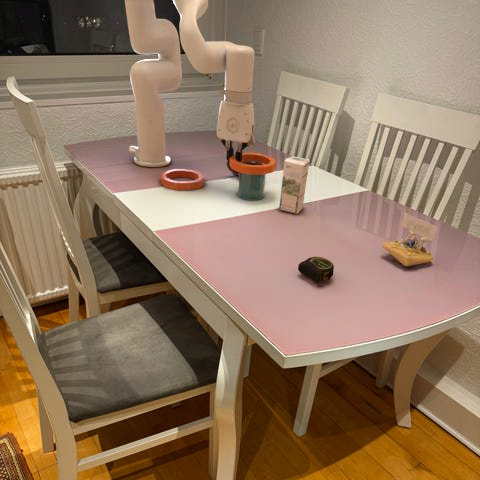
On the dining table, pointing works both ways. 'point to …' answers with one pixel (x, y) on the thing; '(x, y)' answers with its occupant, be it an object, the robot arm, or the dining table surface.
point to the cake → (412, 242)
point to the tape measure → (317, 269)
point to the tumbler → (251, 185)
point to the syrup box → (293, 184)
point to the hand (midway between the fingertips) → (233, 163)
